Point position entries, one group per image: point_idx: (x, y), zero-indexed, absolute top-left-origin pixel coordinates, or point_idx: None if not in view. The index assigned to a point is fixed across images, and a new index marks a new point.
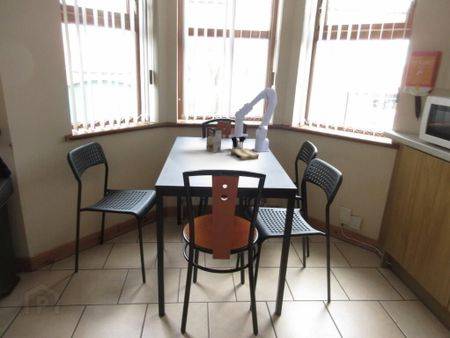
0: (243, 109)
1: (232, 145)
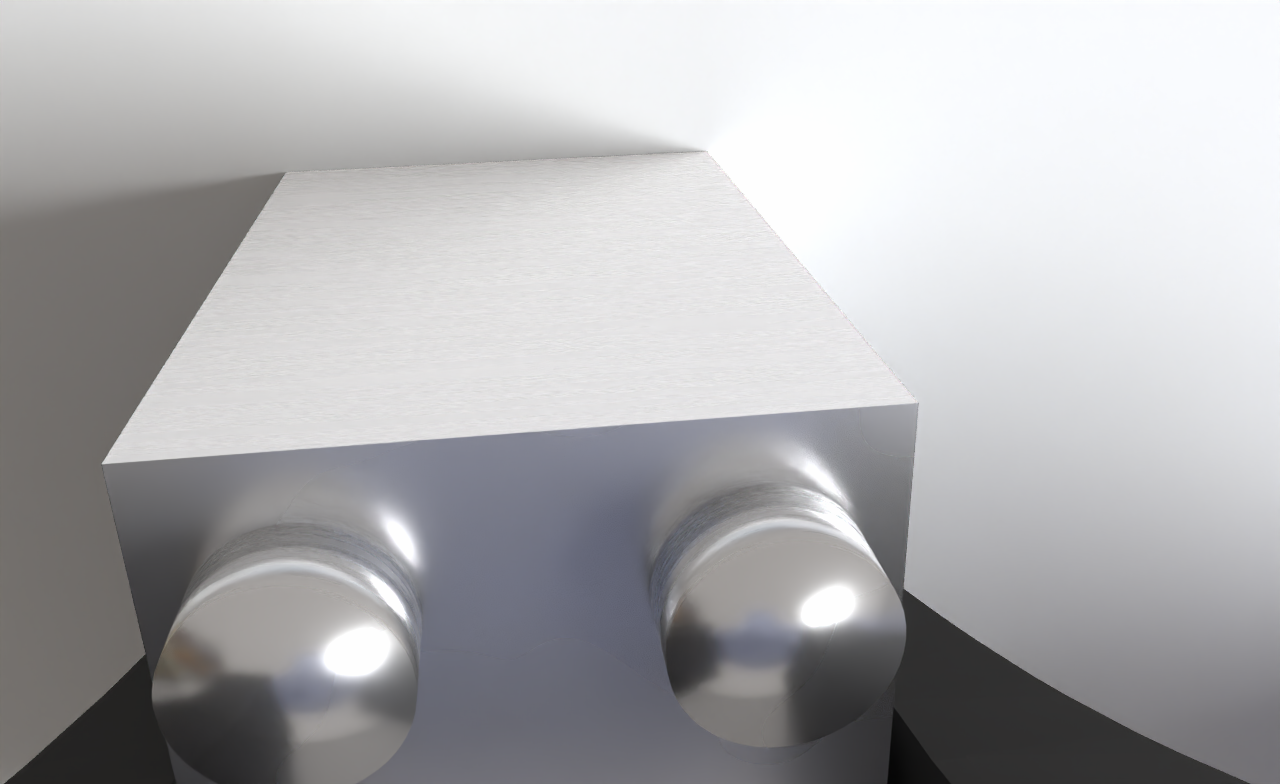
0: None
1: (241, 274)
